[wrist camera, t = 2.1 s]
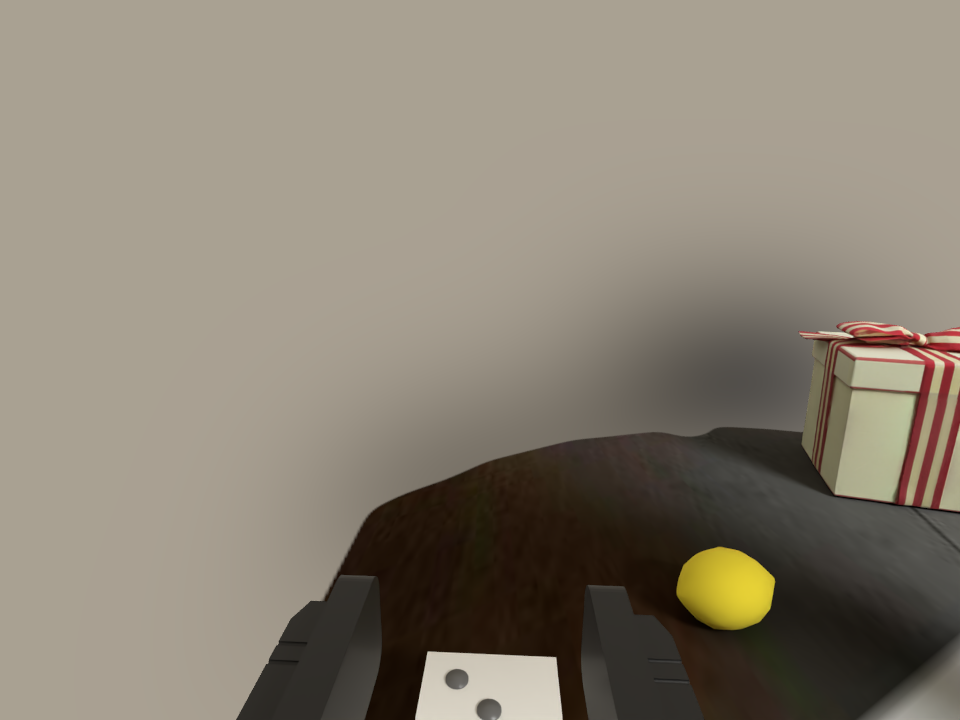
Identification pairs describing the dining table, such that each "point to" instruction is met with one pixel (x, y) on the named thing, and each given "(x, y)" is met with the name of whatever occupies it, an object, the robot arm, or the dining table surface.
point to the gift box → (886, 414)
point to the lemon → (725, 589)
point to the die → (489, 688)
